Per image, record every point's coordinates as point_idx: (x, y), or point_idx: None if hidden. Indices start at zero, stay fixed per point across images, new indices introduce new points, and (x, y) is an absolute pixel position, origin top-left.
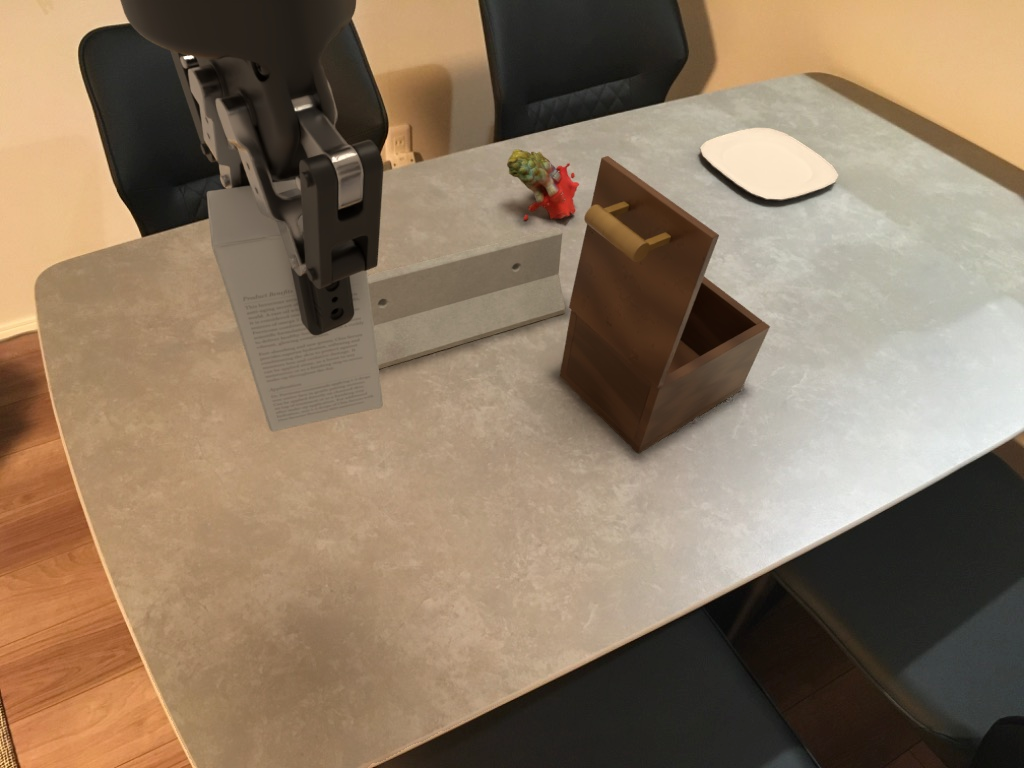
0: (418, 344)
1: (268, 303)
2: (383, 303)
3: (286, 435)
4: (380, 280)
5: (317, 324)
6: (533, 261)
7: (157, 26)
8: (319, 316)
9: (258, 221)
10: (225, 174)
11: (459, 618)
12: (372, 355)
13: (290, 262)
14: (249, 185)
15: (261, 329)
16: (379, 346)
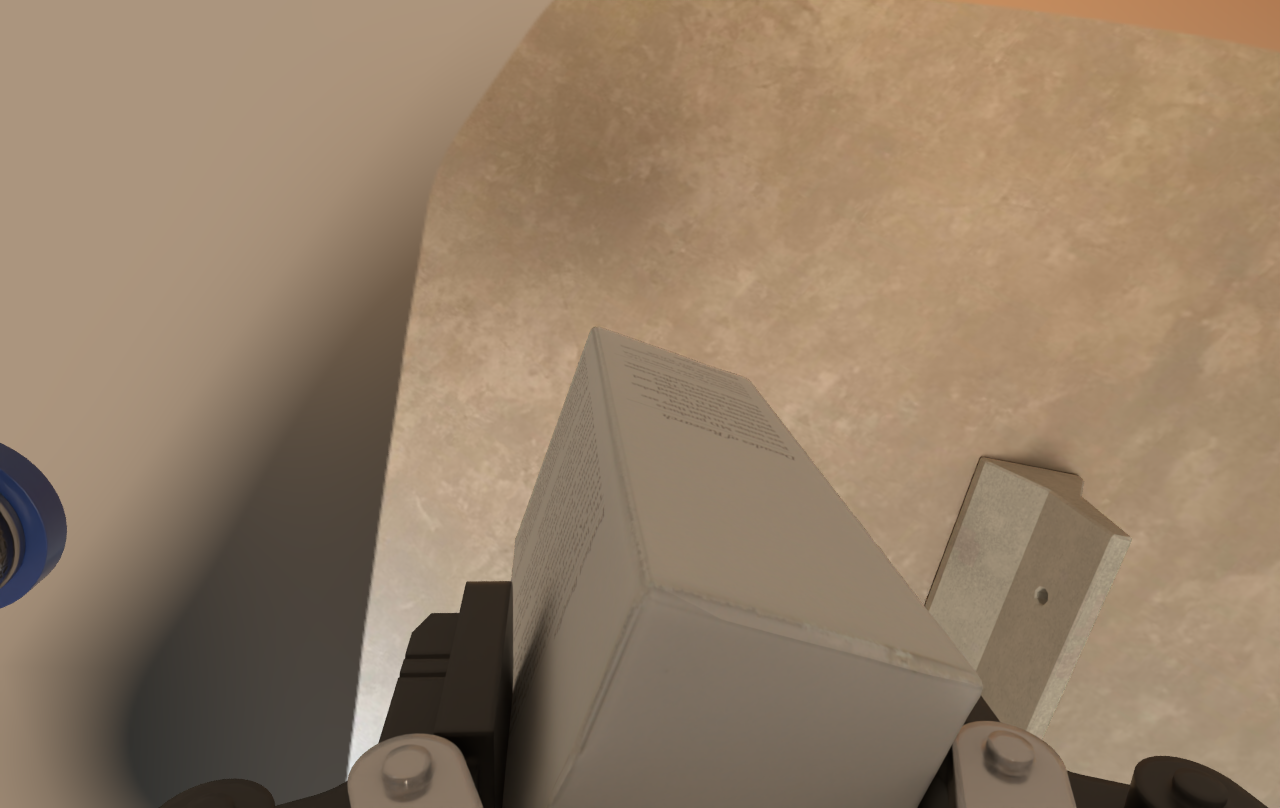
0: (952, 586)
1: (579, 554)
2: (1042, 595)
3: (949, 329)
4: (1072, 624)
5: (458, 616)
6: None
7: None
8: (427, 647)
9: (677, 769)
10: (1012, 783)
11: (526, 373)
12: None
13: (404, 762)
14: (938, 802)
15: (589, 479)
16: (988, 537)
